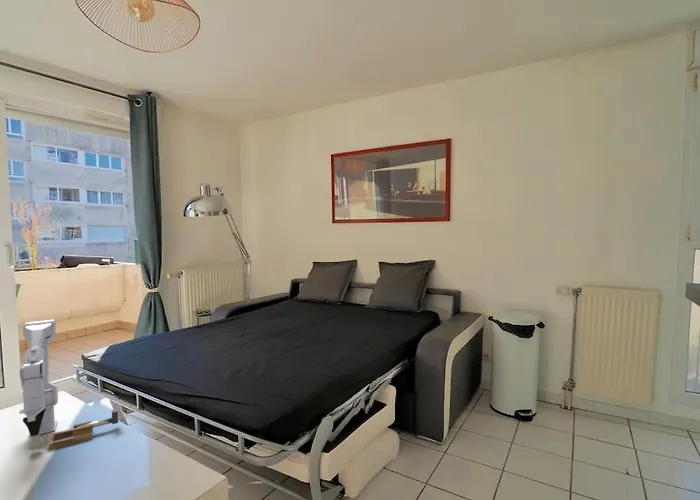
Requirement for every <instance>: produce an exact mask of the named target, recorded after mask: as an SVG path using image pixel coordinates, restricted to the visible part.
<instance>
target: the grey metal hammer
mask: <svg viewBox="0 0 700 500" xmlns="http://www.w3.org/2000/svg"><path fill="white" fill-rule="evenodd" d="M118 423H119V409H118V408H114V409H111V417H110V418H107V419H102V420H96V421H92V423H88V424H84V425H80V426H77V428H79V427H83V426H88V425H91V428H92V429H93V428H94V429H95V428H98V427H101V426H105V425H110V424H112V425H115V424H118Z"/></svg>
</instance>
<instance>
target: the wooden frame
mask: <svg viewBox="0 0 700 500" xmlns="http://www.w3.org/2000/svg"><path fill="white" fill-rule="evenodd" d="M92 422H93V421H92V420H89V421H85V422H81V423H76V424H73V428H70V429H66V430H65V429H64V430H62V431H55V432H53V433H51V434H50V438H49V441H48V450H53V449H57V448H61V447H65V446H69V445H71V444H72V445H73V444H77V443H81V442H84V441H87V440H91V439H93V428H91V425H88V426H83V427H79V428H77V426H80V425H84V424H88V423H92Z"/></svg>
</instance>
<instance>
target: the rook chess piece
mask: <svg viewBox="0 0 700 500" xmlns="http://www.w3.org/2000/svg"><path fill="white" fill-rule="evenodd" d="M40 428H41V425H40ZM40 431H41V430H40ZM40 431H39V434H38V435H36V436H30V441H29V443H28V448H27V449H29V450H30V451H33V450H38V449H40V448H42V447H43V446H44V445H45V443H44V442H45V441H44V439H43V438H42V436H41V434H40Z"/></svg>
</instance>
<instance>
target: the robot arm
mask: <svg viewBox="0 0 700 500" xmlns="http://www.w3.org/2000/svg"><path fill="white" fill-rule="evenodd" d="M56 325H57V324H56V320H55V319H54V318H53V319H46V320H37V321H26V322H25V323H23V326H22V327H23V328H22V333H23V336H24V339H25V341H26V343H27V344H29V348H28V349H26V351H25V352H24V358H23V364H22V365H20V367H19V379H20V383H21V387H22V399H23V402H22V403H23V409H20V410H19V415H20V414H24V415H25V416H26V417H23V418H22V422H23V423H24V425H25V426H26V427H27V430H28V433H29V434H28V437H30V438H31V436H36V435H38V434H39V431H40V430H41V431H40V435H42V434H46V433H51V432H56V429H57V424H58V420H56V419H55V406H56V405H57V404H58V402H59V395H58V394H59V391H58V386H57V385H56V384H54V383H52V382H50V381H49V380H50V379H49V377H50V376H49V368H50V367H49V363H50V362H49V346H50V343H51V341H54V340H55V339H56V331H57V330H56V329H57V326H56ZM40 425H41V428H40Z"/></svg>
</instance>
